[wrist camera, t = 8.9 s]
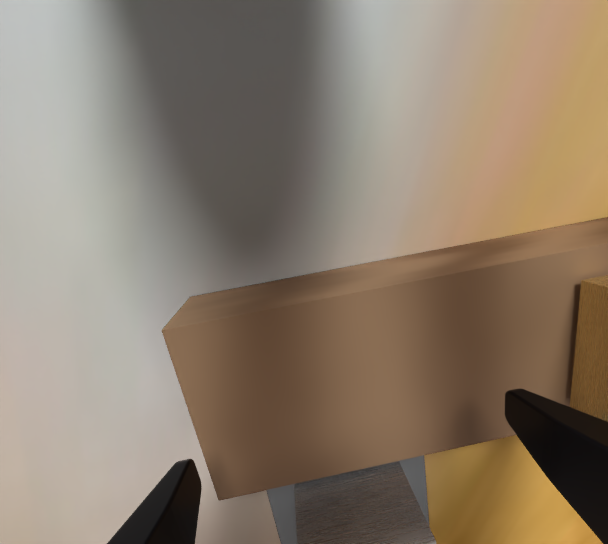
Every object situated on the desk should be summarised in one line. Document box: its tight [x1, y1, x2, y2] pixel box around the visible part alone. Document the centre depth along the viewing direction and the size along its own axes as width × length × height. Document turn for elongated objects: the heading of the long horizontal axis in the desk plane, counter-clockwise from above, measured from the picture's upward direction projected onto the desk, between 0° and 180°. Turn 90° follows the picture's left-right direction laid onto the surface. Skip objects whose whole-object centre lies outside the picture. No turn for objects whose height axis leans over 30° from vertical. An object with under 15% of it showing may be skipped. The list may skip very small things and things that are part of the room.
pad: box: [267, 455, 429, 544], centre depth 15 cm, size 8×8×1 cm
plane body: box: [162, 217, 608, 500], centre depth 12 cm, size 20×7×3 cm, turn 100°
